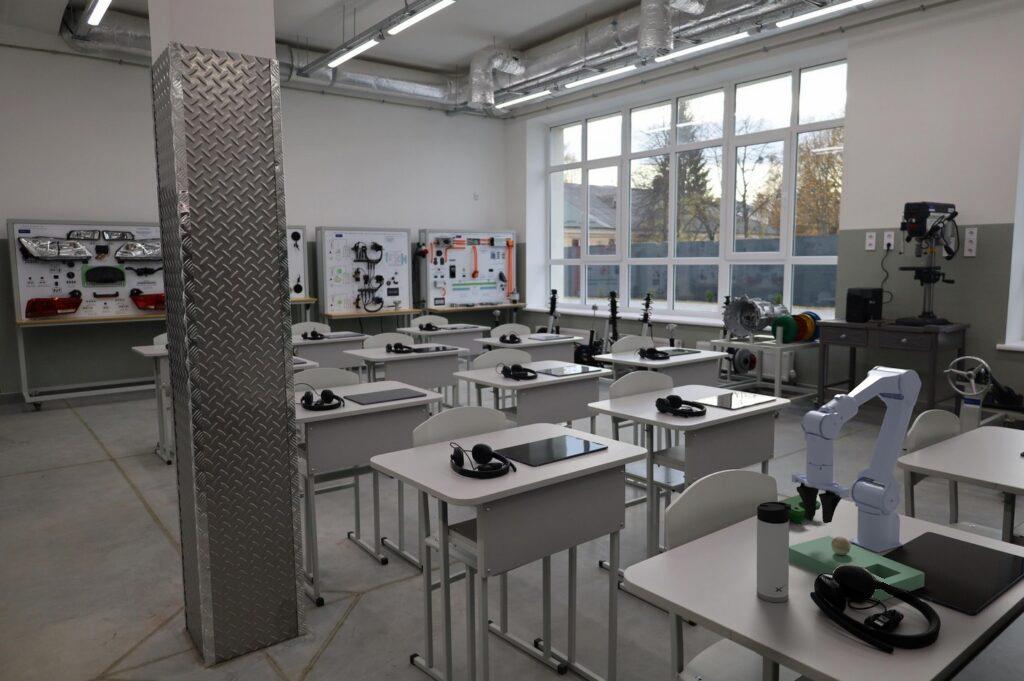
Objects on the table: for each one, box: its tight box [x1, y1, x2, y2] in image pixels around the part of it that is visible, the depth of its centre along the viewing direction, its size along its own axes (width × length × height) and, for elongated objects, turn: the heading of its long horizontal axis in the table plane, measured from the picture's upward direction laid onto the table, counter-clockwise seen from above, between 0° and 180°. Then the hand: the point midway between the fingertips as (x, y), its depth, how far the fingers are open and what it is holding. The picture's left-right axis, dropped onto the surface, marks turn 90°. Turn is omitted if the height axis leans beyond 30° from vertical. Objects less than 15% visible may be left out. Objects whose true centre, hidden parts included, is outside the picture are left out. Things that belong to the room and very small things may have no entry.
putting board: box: [789, 535, 926, 602], centre depth 152 cm, size 24×14×3 cm, turn 25°
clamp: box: [778, 494, 822, 526], centre depth 184 cm, size 12×6×9 cm, turn 117°
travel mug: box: [756, 501, 791, 603], centre depth 141 cm, size 6×7×20 cm
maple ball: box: [831, 536, 851, 555], centre depth 154 cm, size 4×4×4 cm
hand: (818, 519), depth 159 cm, fingers open, 4 cm apart
